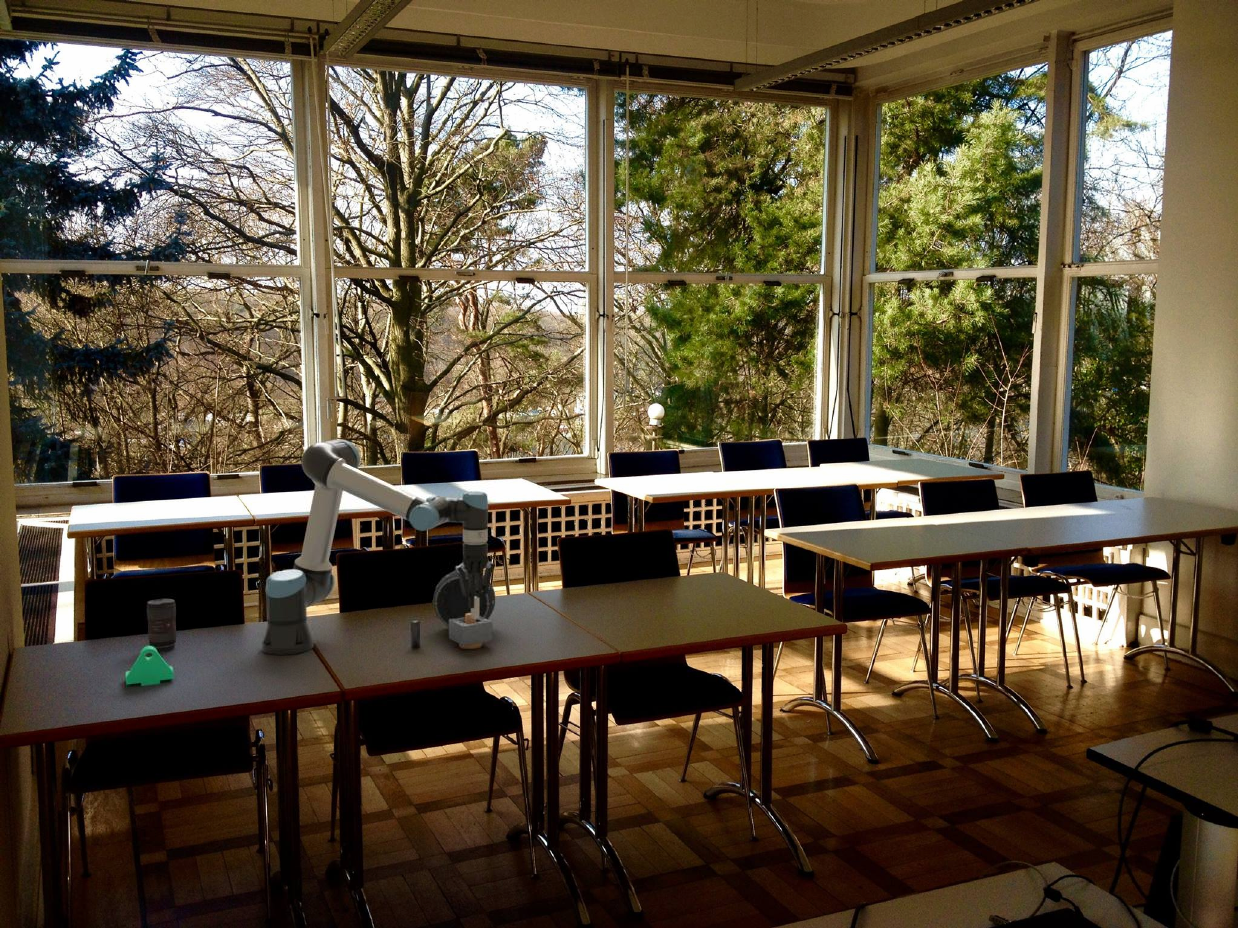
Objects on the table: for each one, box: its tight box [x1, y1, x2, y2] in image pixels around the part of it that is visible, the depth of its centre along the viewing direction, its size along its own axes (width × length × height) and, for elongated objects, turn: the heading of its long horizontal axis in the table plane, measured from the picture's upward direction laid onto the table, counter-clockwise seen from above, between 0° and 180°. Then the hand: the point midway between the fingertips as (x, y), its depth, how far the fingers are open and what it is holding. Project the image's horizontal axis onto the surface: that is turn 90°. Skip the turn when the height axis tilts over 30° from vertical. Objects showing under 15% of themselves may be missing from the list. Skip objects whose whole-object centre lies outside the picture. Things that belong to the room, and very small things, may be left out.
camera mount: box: [125, 645, 175, 687], centre depth 296 cm, size 12×8×10 cm, turn 116°
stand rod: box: [410, 619, 421, 649], centre depth 329 cm, size 3×3×8 cm
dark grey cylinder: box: [146, 598, 177, 653], centre depth 326 cm, size 8×8×15 cm
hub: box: [458, 613, 483, 650], centre depth 331 cm, size 7×7×10 cm
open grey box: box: [448, 616, 493, 646], centre depth 331 cm, size 10×10×6 cm
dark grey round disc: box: [432, 568, 496, 629], centre depth 349 cm, size 11×20×20 cm, turn 89°
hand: (475, 617), depth 327 cm, fingers closed
